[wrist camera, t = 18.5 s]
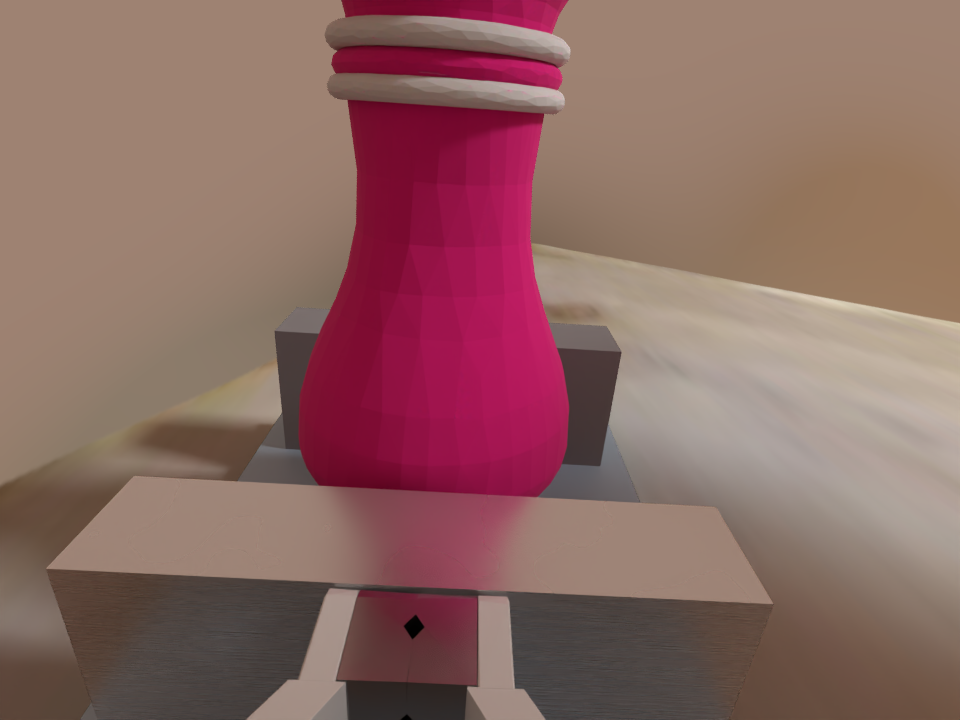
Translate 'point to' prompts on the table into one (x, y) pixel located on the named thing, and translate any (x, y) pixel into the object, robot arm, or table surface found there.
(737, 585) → the sliding jaw
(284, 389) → the vise
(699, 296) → the table surface
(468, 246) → the pepper mill
